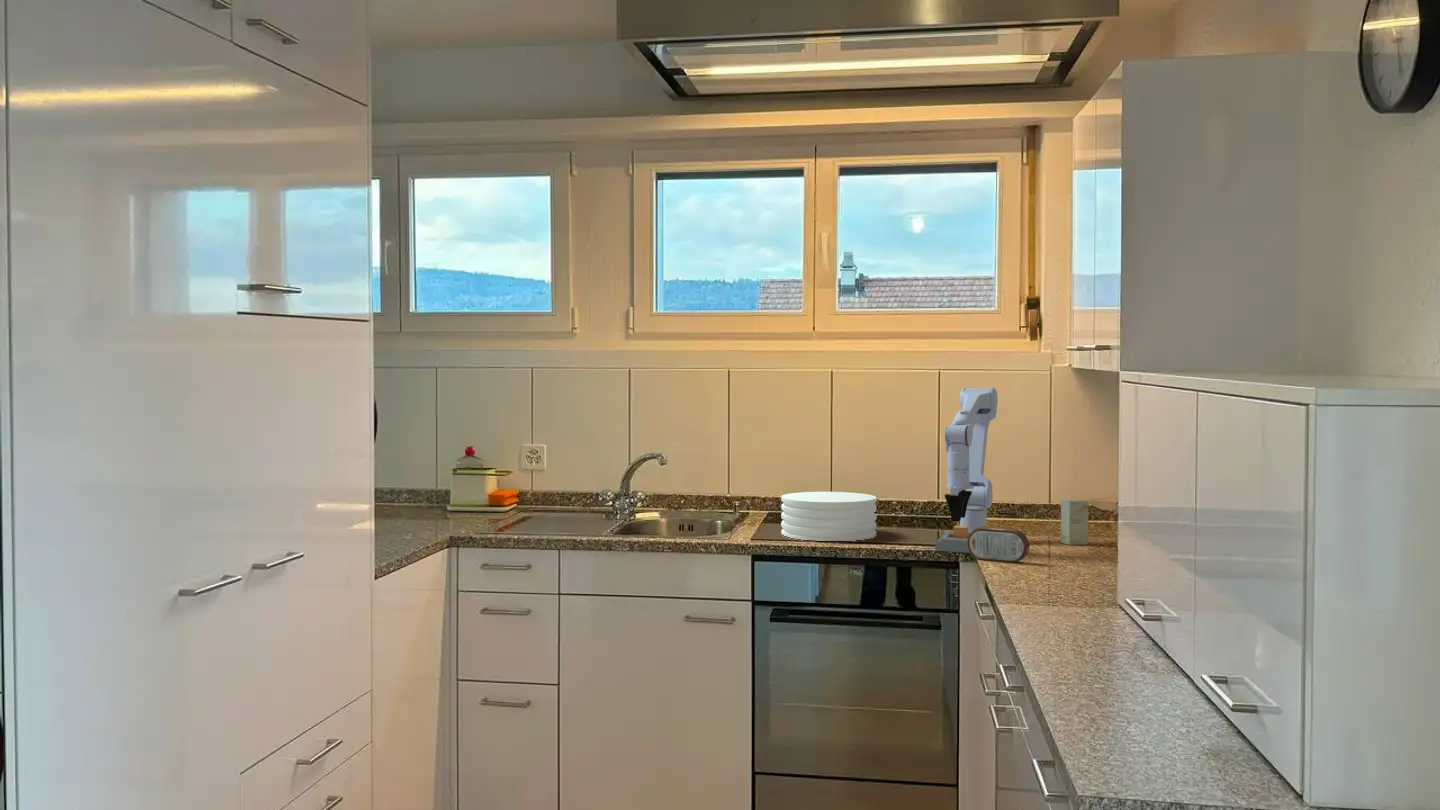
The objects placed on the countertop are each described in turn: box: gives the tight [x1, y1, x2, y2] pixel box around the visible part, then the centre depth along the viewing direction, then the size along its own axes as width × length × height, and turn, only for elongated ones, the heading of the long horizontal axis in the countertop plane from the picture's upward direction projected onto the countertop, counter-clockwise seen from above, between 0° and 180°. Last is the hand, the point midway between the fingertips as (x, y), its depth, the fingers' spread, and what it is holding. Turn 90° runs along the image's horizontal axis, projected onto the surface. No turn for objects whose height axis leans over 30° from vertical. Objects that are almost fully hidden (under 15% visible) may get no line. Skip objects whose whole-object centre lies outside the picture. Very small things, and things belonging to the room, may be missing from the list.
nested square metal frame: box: [935, 529, 971, 554], centre depth 260 cm, size 12×10×4 cm
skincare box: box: [1060, 499, 1089, 546], centre depth 268 cm, size 6×4×12 cm
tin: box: [967, 525, 1030, 564], centre depth 242 cm, size 15×3×8 cm, turn 59°
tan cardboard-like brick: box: [952, 525, 968, 538], centre depth 260 cm, size 4×4×6 cm
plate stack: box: [780, 491, 877, 542], centre depth 286 cm, size 28×28×12 cm
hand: (958, 519), depth 260 cm, fingers open, 7 cm apart
